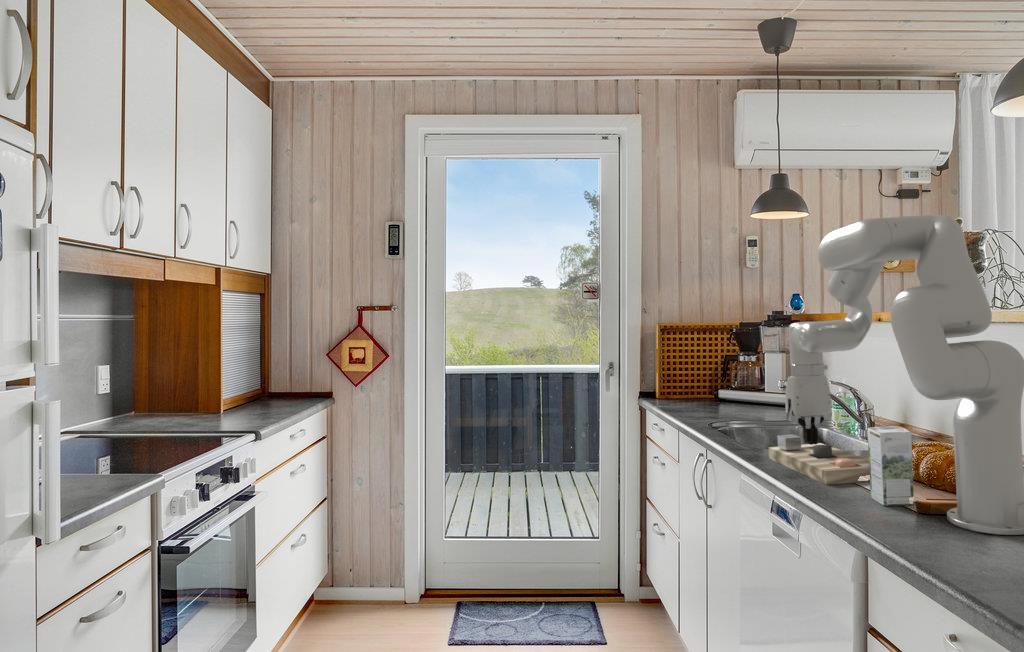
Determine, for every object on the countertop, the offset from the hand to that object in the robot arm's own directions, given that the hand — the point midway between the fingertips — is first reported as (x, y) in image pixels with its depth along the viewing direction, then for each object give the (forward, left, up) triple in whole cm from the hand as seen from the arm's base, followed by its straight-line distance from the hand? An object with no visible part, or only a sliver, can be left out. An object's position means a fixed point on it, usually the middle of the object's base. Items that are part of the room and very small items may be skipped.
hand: (811, 443), depth 164 cm
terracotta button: (-11, +14, -3) cm, 18 cm away
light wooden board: (-5, +8, -4) cm, 10 cm away
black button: (-5, +8, -2) cm, 10 cm away
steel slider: (+4, +4, -1) cm, 6 cm away
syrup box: (-23, +29, -4) cm, 37 cm away
